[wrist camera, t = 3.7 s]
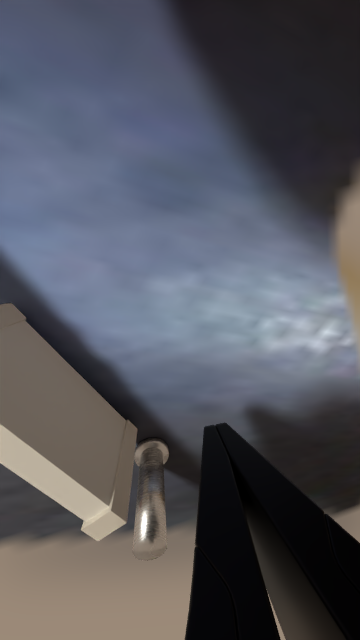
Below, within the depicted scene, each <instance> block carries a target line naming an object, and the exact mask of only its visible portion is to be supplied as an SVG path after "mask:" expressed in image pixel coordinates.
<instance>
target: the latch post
mask: <svg viewBox="0 0 360 640" xmlns="http://www.w3.org/2000/svg"><path fill="white" fill-rule="evenodd" d="M168 457H169V451H168V445H167V444H166V442H165V441H163V440H162V439H159V438H148V439H145V440H143V441H141V442H140V443H139V444H138V445H137V447H136V449H135V456H134V459H135V462H136V464H137V465H138V466H139V479H138V491H137V503H136V515H135V528H134V540H133V555H134V556H135V557H136V558H137V559H140V560H153V559H156V558H158V557H160V556H161V555H162V554H164V552H165V551H166V549H167V538H166V513H165V488H164V464H165V463H166V461H167V460H168Z"/></svg>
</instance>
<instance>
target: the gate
mask: <svg viewBox="0 0 360 640" xmlns="http://www.w3.org/2000/svg"><path fill="white" fill-rule="evenodd" d="M26 319H27V318H26V317H25V316H24V315H23V314H22V313H21V312H20V311H19V310H18V309H17V308H16V307H15V306H14V305H13V304H12V303H9V304H8V303H6V304H1V305H0V463H1V464H3V465H4V466H5V467H7V468H8V469H10V470H11V471H13V472H14V473H16V474H17V475H18V476H20V477H21V478H23V479H24V480H26V481H27V482H29V483H30V484H32V485H33V486H34V487H36V488H37V489H39V490H40V491H42V492H43V493H45V494H46V495H48V496H49V497H50V498H52V499H53V500H55V501H56V502H58V503H59V504H61V505H62V506H63V507H65V508H66V509H68V510H69V511H71V512H72V513H74V514H75V515H77V516H78V517H79V518H81V519H82V520H84V522H83V525H82V529H81V530H82V531H83V532H85V533H86V534H88V535H89V536H91V537H92V538H94V539H95V540H97V541H99V540H101V539H102V538H104V537H105V536H107V535H108V534H110V533H112V532H113V531H115V530H116V529H118V528H119V527H121V526H122V525H124V524H126V523H127V517H128V508H129V499H130V490H131V481H132V473H133V464H134V455H135V446H136V437H137V428H136V427H135V426H134V425H133V424H132V423H131V422H130V421H129V420H125V419H124V418H123V417H122V416H121V415H120V414H119V413H118V412H117V411H116V410H115V409H114V408H113V407H112V406H111V405H110V404H109V403H108V402H107V401H106V400H105V399H104V398H103V397H102V396H101V395H100V394H99V393H98V392H97V391H96V390H95V389H94V388H93V387H92V386H91V385H90V384H89V383H88V382H87V381H86V380H85V379H84V378H83V377H82V376H81V375H80V374H79V373H77V372H76V371H75V370H74V369H73V368H72V367H71V366H70V365H69V364H68V363H67V362H66V361H65V360H64V359H63V358H62V357H61V356H60V355H59V354H58V353H57V352H56V351H55V350H54V349H53V348H52V347H51V346H50V345H49V344H48V343H47V342H46V341H45V340H44V339H43V338H42V337H41V336H40V335H39V334H38V333H37V332H36V331H35V330H34V329H33V328H32V327H31V326H30V325H29V324H28V323H27V322H26V321H25V320H26Z"/></svg>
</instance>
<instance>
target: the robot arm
mask: <svg viewBox="0 0 360 640" xmlns="http://www.w3.org/2000/svg"><path fill="white" fill-rule="evenodd" d="M195 545H196V547H195V550H194V563H193V575H192V585H191V595H190V605H189V613H188V620H187V627H186V635H185V640H280V636H279V633H278V629H277V625H276V622H275V618H274V615H273V611H272V608H271V604H270V601H269V597H270V600H271V602H272V605H273V608H274V610H275V613H276V615H277V618H278V621H279V623H280V626H281V628H282V631H283V633H284V636H285V639H286V640H360V543H359V542H358V541H357V540H356V539H355V538H353V537H352V536H351V535H350V534H349V533H348V532H347V531H345V530H344V529H343V528H342V527H341V526H340V525H339V524H338V523H337V522H335V521H334V520H333V519H332V518H331V517H330V516H329V515H328V514H324V511H323V510H322V509H321V508H320V507H319V506H318V505H316V504H315V503H314V502H313V501H312V500H311V499H310V498H309V497H308V496H307V495H305V494H304V493H303V492H302V491H301V490H300V489H299V488H298V487H297V486H295V485H294V484H293V483H292V482H291V481H290V480H289V479H288V478H287V477H285V476H284V475H283V474H282V473H281V472H280V471H279V470H278V469H277V468H276V467H274V466H273V465H272V464H271V463H270V462H269V461H268V460H267V459H266V458H264V457H263V456H262V455H261V454H260V453H259V452H258V451H257V450H256V449H254V448H253V447H252V446H251V445H250V444H249V443H248V442H247V441H246V440H245V439H243V438H242V437H241V436H240V435H239V434H238V433H237V432H236V431H235V430H233V429H232V428H231V427H230V426H229V425H228V424H227V423H220V424H216V425H210V426H205V427H204V435H203V448H202V461H201V474H200V487H199V500H198V513H197V526H196V540H195ZM266 589H267V590H266ZM267 592H268V593H267ZM268 594H269V597H268Z"/></svg>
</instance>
